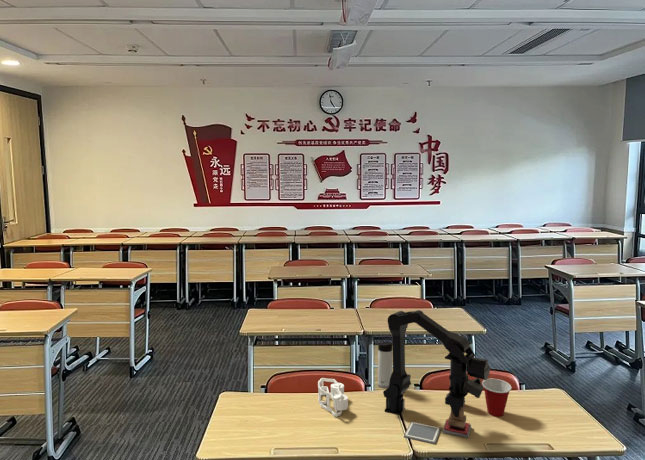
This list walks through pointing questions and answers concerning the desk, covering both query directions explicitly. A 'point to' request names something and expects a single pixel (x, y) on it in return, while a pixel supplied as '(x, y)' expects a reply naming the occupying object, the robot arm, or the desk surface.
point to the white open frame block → (333, 396)
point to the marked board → (422, 432)
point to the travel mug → (384, 364)
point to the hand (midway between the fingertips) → (457, 414)
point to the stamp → (457, 419)
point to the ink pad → (457, 430)
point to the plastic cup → (496, 395)
